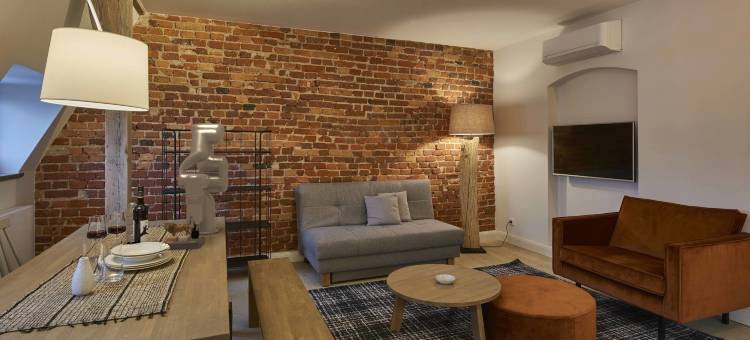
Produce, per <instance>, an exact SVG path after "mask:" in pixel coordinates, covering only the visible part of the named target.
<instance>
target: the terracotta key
mask: <svg viewBox="0 0 750 340" xmlns="http://www.w3.org/2000/svg"><path fill="white" fill-rule="evenodd" d="M179 237H180V236H179V235H175V236H173V235H171V236H170V235H169V236H168V237H166V240H167V241H177V240H179Z"/></svg>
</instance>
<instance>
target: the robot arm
mask: <svg viewBox="0 0 750 340" xmlns="http://www.w3.org/2000/svg"><path fill="white" fill-rule="evenodd" d="M190 132H191V133H190V134H191V141H190V152H189V155H188V156H187V157H186V158H185V159H184V160H183V161H182V163H181V164H180V166H179V169H178V173H177V174H178V176H177V185H178V187H179V188H180V189H183V190H184V189H185V205H186V213H185V214H186V216H185V217H186V221H185V225H189V226H190V227H191V230H190V232H191V237H192V239H198V238H199V237H200V235H211V234H215V233H218V232H219V228H216V227H217V226H216V201H215V198H214V196H213V195H212V194H211V193H225V192H226V191H227V190H228V187H229V163H228V159H227V157H225V156H223V155H215V153H214V151H215V148H214V146H215V145H216V146H217V145H220V144H222V142H223V139H224V138H225V134H226V129H225V127H224V125H223V124H222V123H194V124H192V125H191V128H190ZM195 165H196V166H197V171H198V172H199V173H187V171H188V169H189V168H190V167H193V166H195ZM213 174H214V175H213Z"/></svg>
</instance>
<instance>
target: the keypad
mask: <svg viewBox="0 0 750 340" xmlns="http://www.w3.org/2000/svg"><path fill="white" fill-rule="evenodd" d="M200 237H201V239H200V240H195V241H190V239H191V238H192V237H190V239H189V240H188V241H179V240H177V241H167V239H166V240H165V241H163V242H162V243H165V244H168V245H169V246H170V250H169V251H176V250H178V251H179V250H199V249H200V248H201V247H203V245H204V244H205V243H206V238H205V236H200Z"/></svg>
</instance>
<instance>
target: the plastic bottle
mask: <svg viewBox="0 0 750 340" xmlns="http://www.w3.org/2000/svg"><path fill="white" fill-rule="evenodd" d="M135 206H136V207H137V203H136V202H127V203H126V207H127V209H125V211H124V213H125V215H126V221H125V223H126V222H127V228H126V227H125V228H126V229H125V236H124V239H126V240H125V242H126V241H127V242H132V241H133V207H135ZM127 242H126V243H127Z"/></svg>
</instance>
